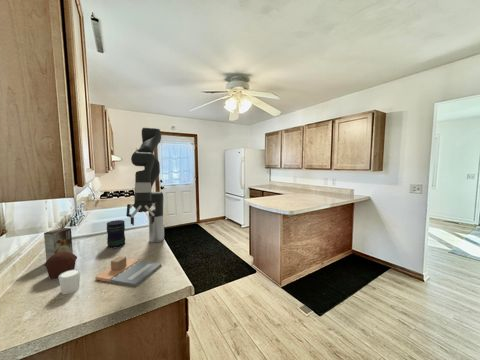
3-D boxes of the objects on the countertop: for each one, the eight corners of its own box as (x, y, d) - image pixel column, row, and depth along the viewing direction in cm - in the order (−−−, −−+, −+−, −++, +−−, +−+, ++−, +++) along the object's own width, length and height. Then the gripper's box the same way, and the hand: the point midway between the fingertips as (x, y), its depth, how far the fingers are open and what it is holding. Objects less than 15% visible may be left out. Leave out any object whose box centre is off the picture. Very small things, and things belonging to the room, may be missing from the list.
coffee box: (64, 254, 113) (62, 227, 111) (73, 255, 111) (71, 228, 110) (45, 262, 104) (43, 232, 102) (55, 263, 102) (53, 233, 101)
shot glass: (64, 286, 84) (63, 270, 83) (83, 283, 86) (83, 267, 86) (55, 296, 77) (54, 279, 77) (77, 292, 80) (76, 276, 79)
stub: (126, 260, 106) (126, 250, 106) (139, 262, 105) (138, 252, 104) (95, 279, 89) (95, 267, 88) (109, 281, 87) (109, 269, 87)
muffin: (40, 277, 90) (38, 255, 90) (68, 265, 101) (67, 246, 100) (53, 283, 86) (52, 261, 85) (82, 271, 96) (81, 251, 95)
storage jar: (119, 248, 122) (118, 224, 121) (103, 248, 122) (102, 224, 121) (128, 242, 132) (127, 220, 131) (114, 242, 132) (113, 220, 131)
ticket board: (139, 262, 104) (139, 260, 104) (161, 265, 102) (161, 263, 101) (110, 282, 87) (110, 279, 87) (135, 286, 84) (135, 283, 84)
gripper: (157, 191, 106) (157, 221, 106) (126, 192, 99) (126, 224, 99) (159, 191, 100) (158, 224, 99) (126, 192, 93) (126, 227, 92)
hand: (142, 224), depth 99 cm, fingers open, 8 cm apart
